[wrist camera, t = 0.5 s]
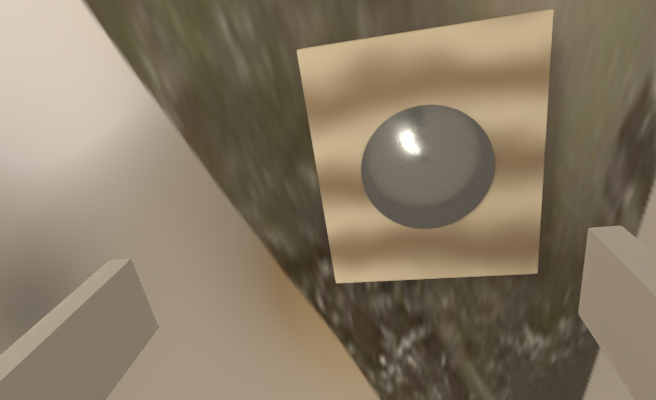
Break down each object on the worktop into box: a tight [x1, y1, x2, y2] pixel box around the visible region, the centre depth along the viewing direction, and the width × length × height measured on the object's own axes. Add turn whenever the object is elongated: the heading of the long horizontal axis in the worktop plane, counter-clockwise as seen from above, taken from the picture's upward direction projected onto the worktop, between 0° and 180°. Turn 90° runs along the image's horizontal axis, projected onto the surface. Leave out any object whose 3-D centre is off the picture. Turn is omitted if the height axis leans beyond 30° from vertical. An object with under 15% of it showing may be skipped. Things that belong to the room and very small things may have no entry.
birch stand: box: [297, 9, 554, 283], centre depth 32 cm, size 20×17×4 cm
